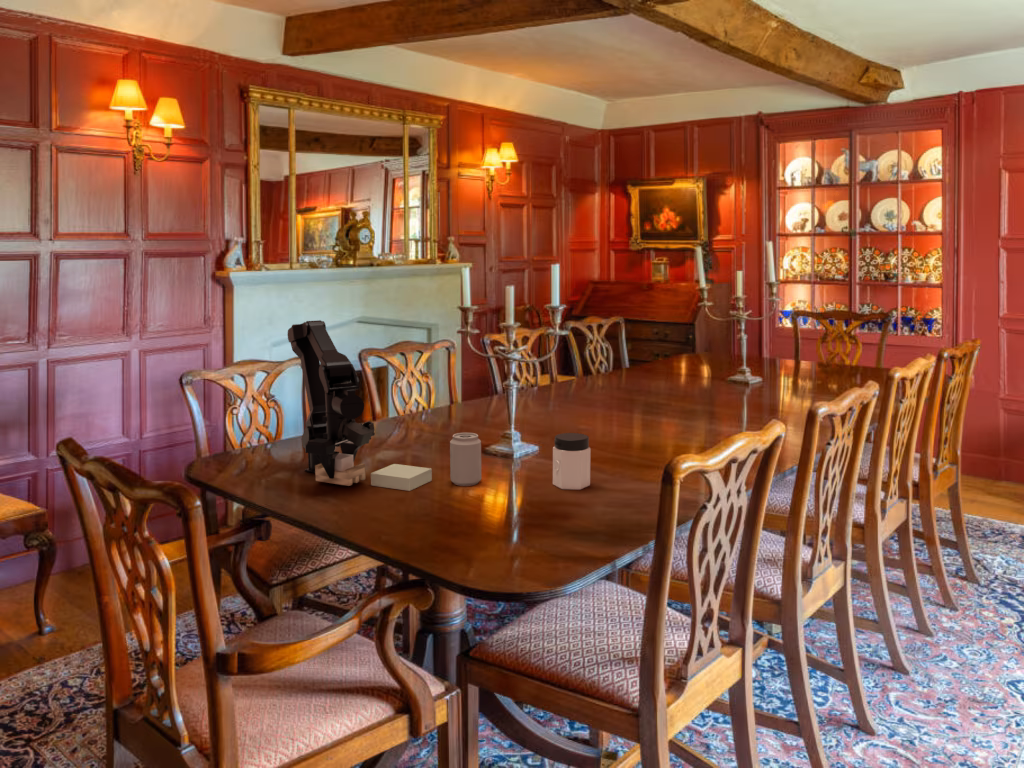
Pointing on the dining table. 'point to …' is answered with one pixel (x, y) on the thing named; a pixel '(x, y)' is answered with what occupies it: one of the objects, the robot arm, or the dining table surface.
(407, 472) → the dock
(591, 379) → the dining table surface
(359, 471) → the castle tower
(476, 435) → the can
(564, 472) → the jar
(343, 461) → the pale pink square block
